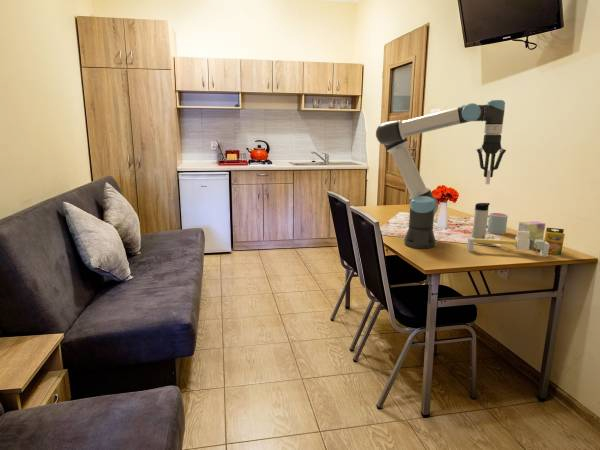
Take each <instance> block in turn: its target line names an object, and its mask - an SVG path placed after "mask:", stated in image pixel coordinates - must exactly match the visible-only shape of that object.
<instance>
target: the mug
mask: <svg viewBox="0 0 600 450" xmlns="http://www.w3.org/2000/svg"><path fill="white" fill-rule="evenodd" d="M508 217H509V215H508V214H505V213H501V212H490V213H488V217H487V219H488V221H487V223H488V224H487V226H486V229H487V230H486V233H487V232H488V233H489V234H494V235H505V234H506V232H507V231H506V230H507V226H508V225H507V224H508Z"/></svg>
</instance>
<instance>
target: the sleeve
mask: <svg viewBox="0 0 600 450" xmlns="http://www.w3.org/2000/svg"><path fill="white" fill-rule="evenodd" d="M529 235H530V232H526V231H518V230H517V231H516V236H515V238H514V241H517V245H513V247H514V248H515V249H516V250H519V251H520V250H521V251H523V250H524V251H529V250H530V248H529V245H530V240H529Z"/></svg>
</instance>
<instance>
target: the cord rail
mask: <svg viewBox="0 0 600 450" xmlns="http://www.w3.org/2000/svg"><path fill="white" fill-rule="evenodd" d="M529 240H530V245H529V250H534V249H535V250H540V252H539V254H540V255H541V256H542V257H545V258H546V257H548V255H549V253H548V251H549V243H548V242H545V241H544V239H543V240H537V239H535V242H534V240H533V239H529ZM476 243H477V244H489V245H490V244H491V245H492V244H494V245H509V246H510V245H511V246H514V245H517V241H515V240H508V239H507V240H505V239H491V238H490V239H489V238H485V239H475V238H473V237H472V236H468V238H467V249H466V251H468V253H469V252H472V253H473V252H474V246H475V244H476Z"/></svg>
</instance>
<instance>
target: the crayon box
mask: <svg viewBox="0 0 600 450" xmlns="http://www.w3.org/2000/svg"><path fill="white" fill-rule="evenodd" d="M545 229H546V230H545V233H544V239H543V241H545V242H548V243H549V251H548V254H553V255H554V254H555V255H561V254H562V253H563V252H562V251H563V246H564V245H563V244H564V239H565V235H566V234H565V233H564V231H565V229H564V228H556V227H555V228H554V227H546V228H545ZM554 230H555V231H554Z"/></svg>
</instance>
